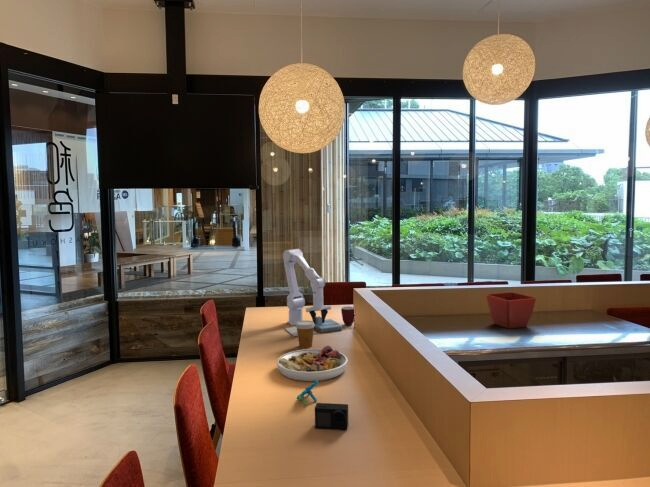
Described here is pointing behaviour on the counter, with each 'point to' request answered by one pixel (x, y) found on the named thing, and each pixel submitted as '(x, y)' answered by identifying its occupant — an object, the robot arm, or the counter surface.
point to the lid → (326, 323)
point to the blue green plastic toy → (307, 391)
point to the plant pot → (510, 309)
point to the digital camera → (331, 416)
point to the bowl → (312, 364)
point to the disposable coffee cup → (305, 333)
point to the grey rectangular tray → (328, 329)
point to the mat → (294, 331)
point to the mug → (348, 315)
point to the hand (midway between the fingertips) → (318, 323)
